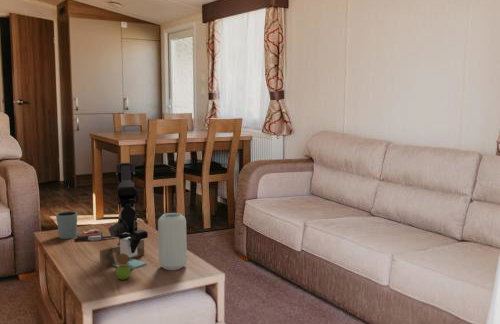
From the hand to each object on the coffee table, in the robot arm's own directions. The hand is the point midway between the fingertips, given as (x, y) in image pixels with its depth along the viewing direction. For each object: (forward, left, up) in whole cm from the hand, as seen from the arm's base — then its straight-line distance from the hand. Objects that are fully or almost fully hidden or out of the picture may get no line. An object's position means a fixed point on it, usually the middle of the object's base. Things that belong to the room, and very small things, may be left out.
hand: (129, 251), depth 212 cm
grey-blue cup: (-7, -59, -6) cm, 60 cm away
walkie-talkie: (-14, -45, -6) cm, 48 cm away
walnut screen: (-2, -7, -6) cm, 9 cm away
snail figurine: (+12, +11, -6) cm, 17 cm away
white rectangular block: (0, 0, -2) cm, 2 cm away
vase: (-10, +16, -6) cm, 20 cm away
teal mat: (0, 0, -6) cm, 6 cm away
